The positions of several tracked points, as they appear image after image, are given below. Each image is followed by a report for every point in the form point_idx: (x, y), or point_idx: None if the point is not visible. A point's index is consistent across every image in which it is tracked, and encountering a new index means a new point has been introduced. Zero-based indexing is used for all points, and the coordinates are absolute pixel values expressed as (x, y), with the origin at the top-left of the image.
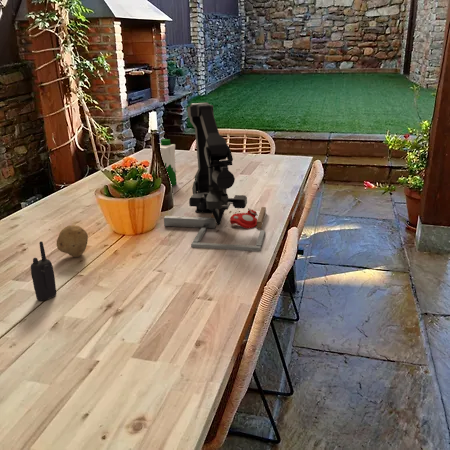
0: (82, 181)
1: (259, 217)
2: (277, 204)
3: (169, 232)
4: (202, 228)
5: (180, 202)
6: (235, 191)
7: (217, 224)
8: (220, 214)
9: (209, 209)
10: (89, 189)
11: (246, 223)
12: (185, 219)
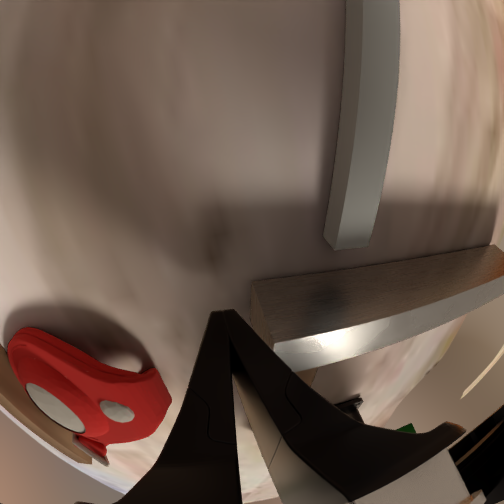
0: (485, 374)
1: (12, 408)
2: (95, 465)
3: (493, 174)
4: (363, 224)
5: (387, 412)
6: (242, 478)
7: (234, 311)
8: (209, 417)
9: (413, 433)
10: (493, 360)
11: (33, 363)
12: (469, 284)
